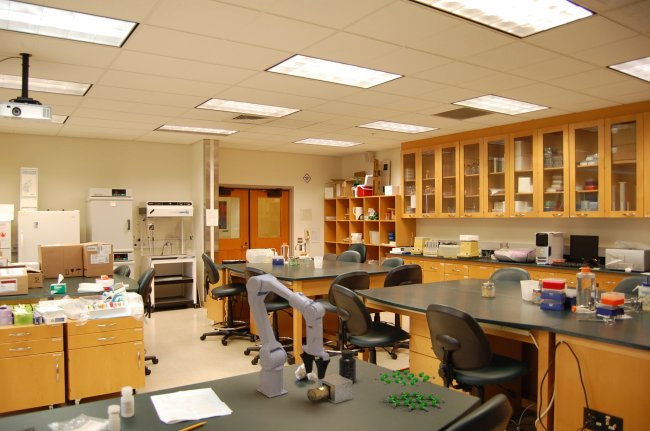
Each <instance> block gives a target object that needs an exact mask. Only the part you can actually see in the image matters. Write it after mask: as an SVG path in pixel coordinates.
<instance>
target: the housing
mask: <svg viewBox="0 0 650 431" xmlns="http://www.w3.org/2000/svg"><path fill="white" fill-rule="evenodd" d="M317 381H318V383H317V384H318V386H317V387H321V386H324V385H329V386H331V396H329V397H325V398H324V399H325V400H327V401H329V402H331V403H333V404H339V403H342V402H346V401H349V400H352V399H353V383H352V380H349V379H347V378H345V377H342V376H340V375H339V373H332V374H329V375H328V374H327V375H325V377H324V379H320V380H319V379H317Z"/></svg>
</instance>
